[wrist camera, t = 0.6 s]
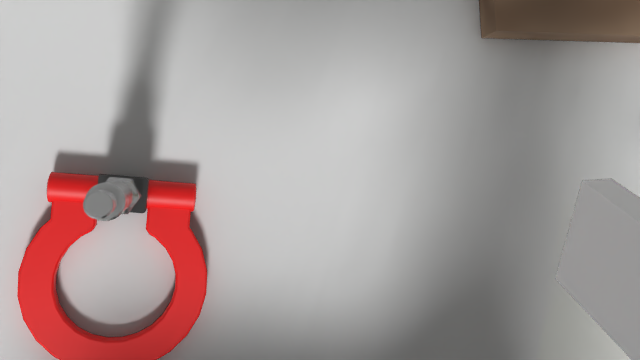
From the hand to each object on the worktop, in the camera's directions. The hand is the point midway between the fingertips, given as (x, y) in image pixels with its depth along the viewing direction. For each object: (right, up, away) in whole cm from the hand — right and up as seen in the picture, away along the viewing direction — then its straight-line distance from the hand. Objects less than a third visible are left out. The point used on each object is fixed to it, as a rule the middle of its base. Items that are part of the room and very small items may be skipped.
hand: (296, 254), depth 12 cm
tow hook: (-9, -3, +16) cm, 18 cm away
